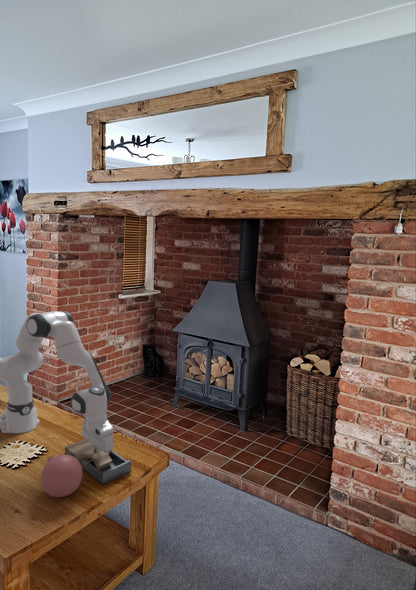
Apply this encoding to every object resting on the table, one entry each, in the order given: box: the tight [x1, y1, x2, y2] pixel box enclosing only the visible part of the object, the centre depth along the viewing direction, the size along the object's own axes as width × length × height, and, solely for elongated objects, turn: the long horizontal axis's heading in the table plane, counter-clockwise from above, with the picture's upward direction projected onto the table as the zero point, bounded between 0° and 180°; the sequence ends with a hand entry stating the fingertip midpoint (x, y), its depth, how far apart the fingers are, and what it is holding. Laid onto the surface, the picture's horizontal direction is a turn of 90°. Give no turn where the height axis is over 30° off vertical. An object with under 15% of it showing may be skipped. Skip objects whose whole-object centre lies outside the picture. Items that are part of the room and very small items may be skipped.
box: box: [82, 449, 132, 486], centre depth 184 cm, size 16×14×5 cm
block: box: [92, 451, 112, 470], centre depth 186 cm, size 6×6×3 cm
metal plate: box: [64, 438, 102, 466], centre depth 196 cm, size 16×12×3 cm
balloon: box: [40, 453, 84, 498], centre depth 169 cm, size 15×20×15 cm
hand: (96, 453), depth 189 cm, fingers closed
